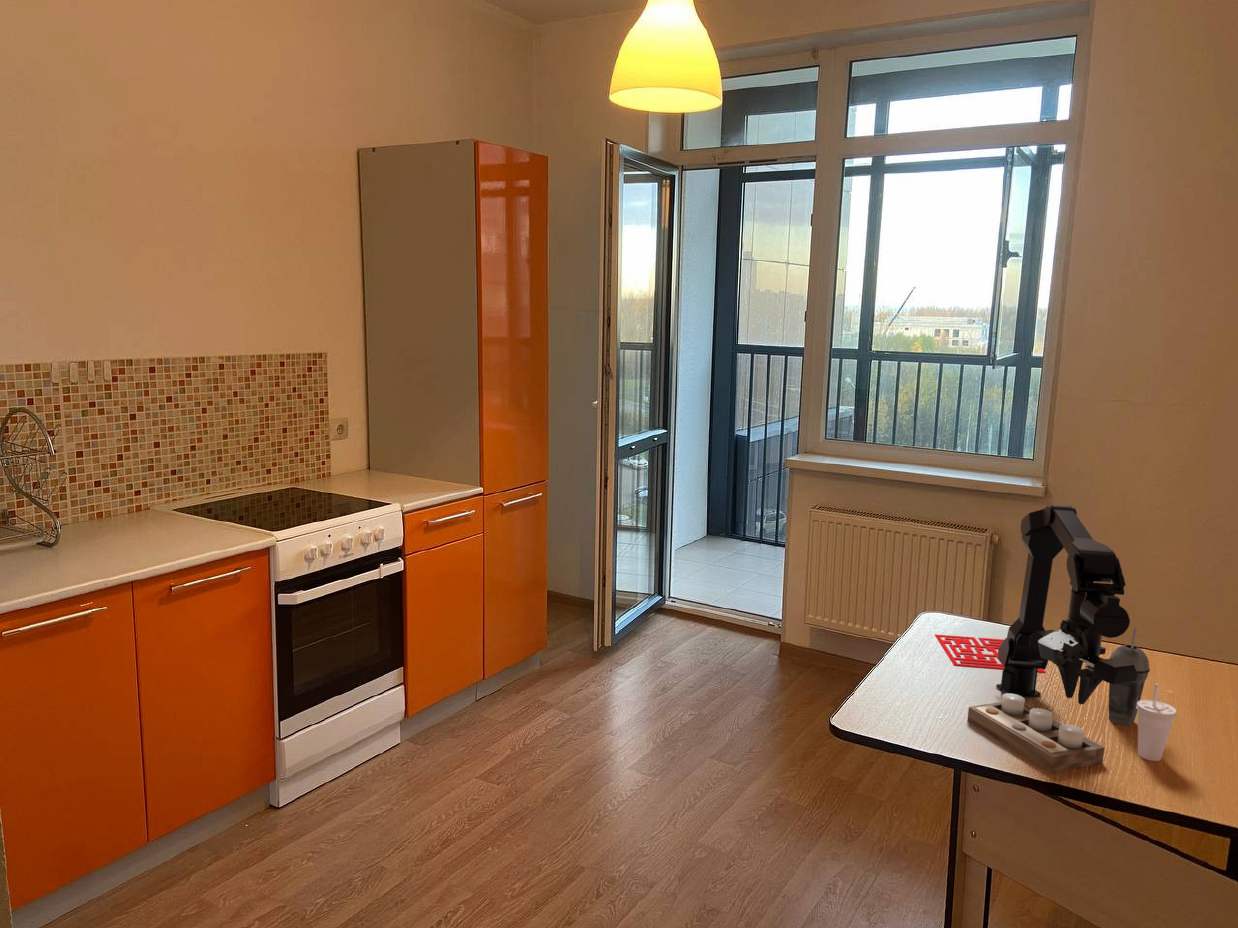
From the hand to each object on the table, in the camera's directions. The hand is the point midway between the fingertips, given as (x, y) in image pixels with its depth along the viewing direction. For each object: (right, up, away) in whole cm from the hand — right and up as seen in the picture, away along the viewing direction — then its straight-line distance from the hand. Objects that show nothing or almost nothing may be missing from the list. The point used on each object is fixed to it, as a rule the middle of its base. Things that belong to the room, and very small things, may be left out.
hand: (1075, 700), depth 164 cm
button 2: (0, -8, +1) cm, 8 cm away
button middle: (-3, -7, +8) cm, 11 cm away
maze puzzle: (+5, -3, +53) cm, 53 cm away
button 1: (-5, -6, +14) cm, 16 cm away
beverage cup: (+18, -9, +18) cm, 28 cm away
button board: (-4, -10, +8) cm, 13 cm away
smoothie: (+15, -11, +4) cm, 20 cm away
